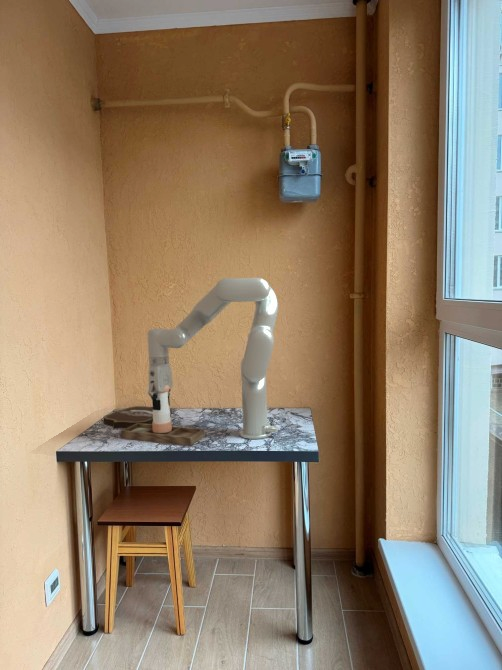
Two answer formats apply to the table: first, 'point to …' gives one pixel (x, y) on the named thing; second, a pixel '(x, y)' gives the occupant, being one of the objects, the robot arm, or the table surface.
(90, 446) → the table surface
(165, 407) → the pepper shaker
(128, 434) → the notch ledge
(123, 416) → the decorative plaque
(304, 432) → the table surface
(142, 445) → the table surface
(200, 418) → the table surface
